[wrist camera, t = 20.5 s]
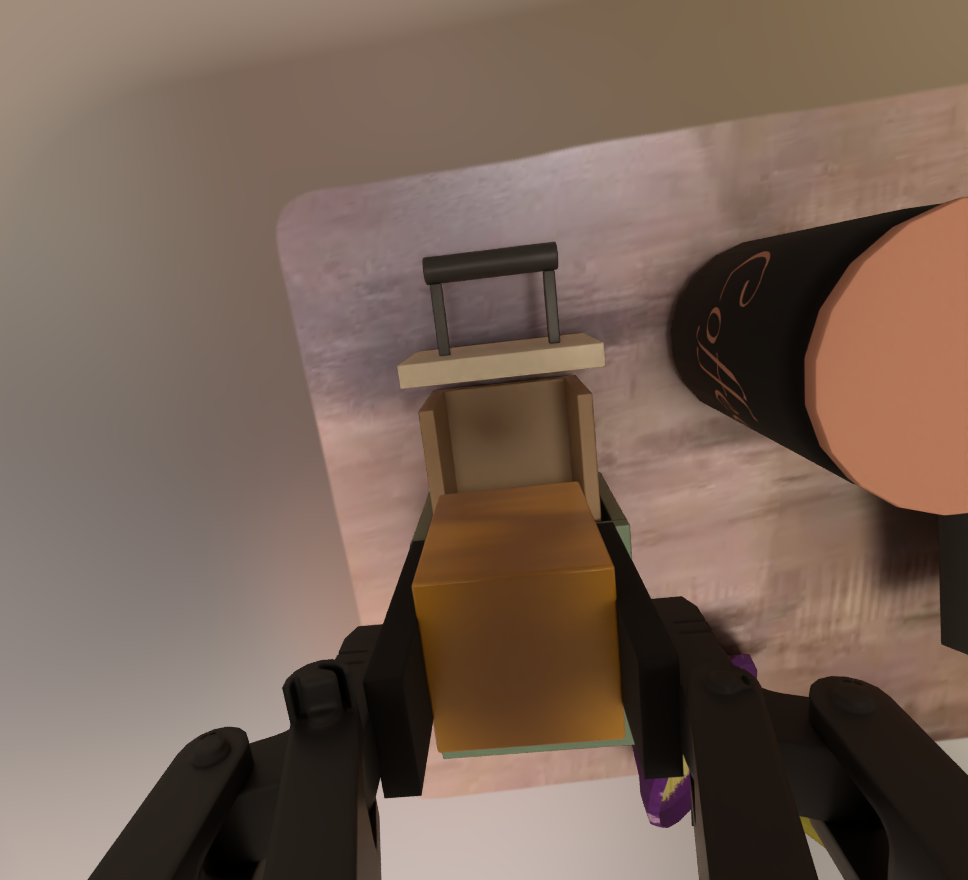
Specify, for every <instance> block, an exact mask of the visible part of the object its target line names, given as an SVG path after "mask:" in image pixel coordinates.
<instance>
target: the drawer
mask: <svg viewBox="0 0 968 880" xmlns="http://www.w3.org/2000/svg"><path fill="white" fill-rule="evenodd" d="M422 265H423V273H424V279H425V282H426V284H427V285H430V291H431V299H432V306H433V314H434V321H435V329H436V336H437V344H438V349H437V350H428V351H419V352H416V353H415V354H414V355H412V356H411V357H409V358H408V359H407V360H405V361H404V362H402V363H401V364H399V365H398V366H397V369H398V375H399V382H400V388H401V389H406V388H415V387H424V386H433V385H442V384H451V383H460V382H469V381H478V380H487V379H496V378H505V377H514V376H524V375H533V374H542V373H551V372H560V371H569V370H578V369H587V368H596V367H604V366H605V355H604V343H603V342H601V341H599V340H597V339H595V338H592V337H590V336H588V335H586V334H584V333H577V334H569V335H560V332H559V319H558V307H557V295H556V283H555V271H554V270H556V269H558V251H557V245H556V242H548V243H540V244H531V245H523V246H515V247H507V248H499V249H491V250H483V251H474V252H466V253H458V254H450V255H442V256H434V257H425V258H423V261H422ZM540 271H543V285H544V296H545V308H546V319H547V330H548V337H542V338H534V339H525V340H516V341H507V342H498V343H490V344H481V345H472V346H463V347H454V348H450V344H449V336H448V328H447V320H446V313H445V305H444V297H443V289H442V284H441V283H448V282H457V281H465V280H473V279H482V278H490V277H498V276H507V275H515V274H523V273H532V272H540ZM418 413H419V420H420V427H421V434H422V441H423V448H424V455H425V462H426V469H427V476H428V482H429V489H430V496H431V503H432V510H433V514H434V511H435V507H436V504H437V501H438V498H439V496H440V495H446V494H456V493H466V492H476V491H486V490H496V489H506V488H516V487H526V486H536V485H546V484H556V483H566V482H576V481H577V482H579V484H580V486H581V489H582V491H583V494H584V496H585V498H586V501H587V503H588V506H589V508H590V510H591V513H592V515H593V517H594V520H595V522H601V509H600V495H599V481H598V466H597V452H596V438H595V424H594V410H593V396H592V393H591V392H590V391H589V390H588V389H587V387H586V386H585V385H584V384H583V383H582V382H581V381H580V380H579V379H578V378H577V376H576V375H572V376H563V377H553V378H544V379H535V380H526V381H517V382H508V383H499V384H490V385H481V386H471V387H462V388H453V389H444V390H435V391H433V392H432V393H431V395H430V396H429V398H428V399H427V400H426V402H425V403H424V405H423V406H422V408H421V409H420V411H419V412H418Z"/></svg>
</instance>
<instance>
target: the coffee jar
mask: <svg viewBox="0 0 968 880" xmlns="http://www.w3.org/2000/svg"><path fill="white" fill-rule="evenodd" d="M671 336H672V352H673V359H674V361H675V364H676V366H677V368H678V371H679V373H680V376H681V378H682V381H683V382H684V383H685V384H686V386H687V387H688V388H689V389H690V390H691V391H692V392H693V393H694V394H695V396H696V397H697V398H698V399H699V400H700V401H702V402H703V403H705V404H707V405H709V406H711V407H712V408H714V409H716V410H718V411H720V412H722V413H723V414H725V415H727V416H729V417H731V418H733V419H734V420H736V421H738V422H740V423H742V424H744V425H746V426H747V427H749V428H751V429H753V430H755V431H757V432H758V433H760V434H762V435H764V436H766V437H768V438H770V439H771V440H773V441H775V442H777V443H779V444H781V445H782V446H784V447H786V448H788V449H790V450H792V451H794V452H795V453H797V454H799V455H801V456H803V457H805V458H806V459H808V460H810V461H812V462H814V463H816V464H818V465H819V466H821V467H823V468H825V469H827V470H829V471H830V472H832V473H834V474H836V475H838V476H840V477H842V478H843V479H845V480H847V481H849V482H851V483H853V484H856V485H858V486H860V487H861V488H863V489H865V490H867V491H869V492H871V493H872V494H874V495H876V496H878V497H880V498H881V499H883V500H885V501H887V502H889V503H891V504H892V505H894V506H896V507H900V508H905V509H911V510H917V511H922V512H928V513H934V514H939V515H953V514H962V513H968V197H962V198H958V199H955V200H952V201H948V202H945V203H942V204H935V205H928V206H921V207H915V208H908V209H901V210H897V211H892V212H887V213H882V214H878V215H873V216H868V217H863V218H858V219H854V220H849V221H844V222H839V223H835V224H830V225H825V226H820V227H815V228H811V229H806V230H801V231H796V232H791V233H787V234H782V235H777V236H772V237H768V238H763V239H758V240H753V241H748V242H744V243H741V244H739V245H737V246H735V247H733V248H731V249H729V250H727V251H725V252H723V253H721V254H719V255H716V256H715V257H714V258H713V259H712V260H711V261H710V262H709V263H707V264H706V265H705V266H704V267H703V268H702V269H701V270H700V271H699V272H698V273H697V274H695V275H694V276H693V278H692V280H691V281H690V283H689V285H688V286H687V288H686V290H685V291H684V293H683V295H682V296H681V298H680V300H679V301H678V304H677V308H676V312H675V316H674V320H673V324H672V328H671Z"/></svg>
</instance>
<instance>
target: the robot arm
mask: <svg viewBox="0 0 968 880" xmlns="http://www.w3.org/2000/svg"><path fill="white" fill-rule="evenodd" d="M596 525H597V527H598V529H599V532H600V534H601V537H602V539H603V541H604V544H605V546H606V548H607V551H608V553H609V556H610V558H611V560H612V563H613V565H614V568H615V582H616V597H617V598H616V610H617V625H618V640H619V655H620V670H621V685H622V700H623V707H624V710H625V714H626V717H627V720H628V724H629V727H630V730H631V734H632V737H633V740H634V744H635V747H636V750H637V754H638V757H639V761H640V764H641V767H642V771H643V774H644V777H645V779H658V778H672V777H684V768H683V756H684V758H685V761H686V763H687V766H688V768H689V771H690V790H691V816H692V817H691V818H692V826H694V833H695V843H696V852H697V863H698V872H699V880H818V876H817V873H816V870H815V866H814V863H813V859H812V856H811V853H810V849H809V846H808V843H807V839H806V836H805V832H804V829H803V826H802V822H801V819H800V816H801V817H806V818H809V820H810V823H811V825H812V826H813V828H814V830H815V831H816V833H817V835H818V836H819V838H820V840H821V841H822V843H823V845H824V846H825V848H826V850H827V851H828V853H829V855H830V856H831V858H832V860H833V861H834V863H835V864H836V866H837V868H838V870H839V871H840V873H841V874H842V876H843V878H844V879H845V880H968V775H967V774H966V773H965V772H964V771H963V770H962V769H961V768H960V767H959V766H958V765H957V764H956V763H955V762H954V761H953V760H952V759H951V758H950V757H949V756H948V755H947V754H946V753H945V752H944V751H943V750H942V749H941V748H940V747H939V746H938V745H937V744H936V743H935V742H934V741H933V740H932V739H931V738H930V737H929V736H928V735H927V733H926V732H925V731H924V730H923V729H922V728H921V727H920V726H919V725H918V724H917V723H916V722H915V721H914V720H913V719H912V718H911V717H910V716H909V715H908V714H907V713H906V712H905V711H904V710H903V709H902V708H901V707H900V706H899V705H898V704H897V703H896V702H895V701H894V700H893V699H892V698H891V697H890V696H888V695H887V694H886V693H884V692H883V691H882V690H881V689H879V688H878V687H876V686H873V685H871V684H869V683H867V682H864V681H862V680H858V679H853V678H849V677H838V676H830V677H826V678H821V679H818V680H817V681H816V682H814V683H813V684H812V685H811V687H810V692H809V697H804V696H797V695H790V694H783V693H778V692H773V691H769V690H767V689H764V688H761V685H760V684H759V682H758V680H757V679H756V677H755V676H753V675H752V674H751V673H749V672H748V671H747V670H745V669H743V668H740V667H738V666H735V665H734V664H733V663H732V661H731V660H730V658H729V657H728V655H727V653H726V652H725V650H724V649H723V647H722V645H721V644H720V642H719V641H718V639H717V637H716V636H715V634H714V633H713V632H712V631H711V628H710V626H709V625H708V623H707V622H705V618H704V617H703V615H702V614H701V612H700V610H699V609H698V607H697V606H695V605H694V604H692V603H691V602H689V601H688V600H686V599H685V598H683V597H682V596H679V597H668V598H657V599H651V598H650V596H649V594H648V592H647V590H646V588H645V586H644V583H643V581H642V579H641V577H640V575H639V573H638V571H637V569H636V567H635V565H634V563H633V561H632V559H631V557H630V555H629V553H628V551H627V549H626V547H625V545H624V543H623V541H622V539H621V537H620V535H619V533H618V531H617V529H616V527H615V525H614V523H613V522H606V523H596ZM424 544H425V540H419V541H412V544H411V547H410V549H409V552H408V555H407V558H406V561H405V564H404V566H403V569H402V572H401V575H400V578H399V580H398V583H397V586H396V589H395V592H394V595H393V597H392V600H391V603H390V606H389V609H388V611H387V614H386V617H385V620H384V623H383V624H381V625H369V626H359V627H357V628H356V629H355V630H354V631H353V632H351V633H350V634H349V635H348V636H347V637H346V638H345V639H344V641H343V644H342V646H341V648H340V650H339V655H337V657H336V659H335V660H333V659H330V660H320V661H317V662H313V663H310V664H307V665H306V666H303V667H302V668H300V669H298V670H296V671H295V672H294V673H293V674H292V675H291V676H290V677H288V678H287V679H286V681H285V684H284V685H283V687H282V689H283V693H284V698H285V702H286V706H287V711H288V715H289V720H290V729H289V730H287V731H285V732H283V733H280V734H278V735H275V736H272V737H269V738H266V739H262V740H259V741H256V742H253V743H250V744H249V740H248V737H247V734H246V732H245V731H243V730H242V729H240V728H236V727H224V728H218V729H214V730H212V731H209V732H206V733H204V734H202V735H200V736H199V737H197V738H196V739H194V740H193V741H191V742H190V743H188V744H187V745H186V746H185V747H184V748H183V749H182V750H181V751H180V752H179V753H178V754H177V756H176V757H175V758H174V760H173V761H172V763H171V764H170V765H169V767H168V768H167V770H166V771H165V773H164V774H163V775H162V777H161V778H160V779H159V781H158V782H157V784H156V785H155V786H154V788H153V789H152V791H151V792H150V793H149V795H148V796H147V798H146V799H145V800H144V802H143V803H142V805H141V806H140V807H139V809H138V810H137V811H136V813H135V814H134V816H133V817H132V819H131V820H130V821H129V823H128V824H127V825H126V827H125V828H124V830H123V831H122V832H121V834H120V835H119V837H118V838H117V839H116V841H115V842H114V844H113V845H112V846H111V848H110V849H109V851H108V852H107V853H106V855H105V856H104V857H103V859H102V860H101V862H100V863H99V865H98V866H97V867H96V869H95V870H94V872H93V873H92V874H91V876H90V877H89V878H88V880H381V853H380V822H379V812H378V806H377V801H376V793H377V789H378V785H379V781H380V777H381V782H382V788H383V793H384V798H396V797H409V796H421V795H422V789H423V782H424V776H425V770H426V763H427V757H428V750H429V744H430V738H431V731H432V725H433V714H432V708H431V702H430V696H429V689H428V683H427V677H426V670H425V664H424V658H423V651H422V645H421V639H420V632H419V626H418V620H417V616H416V611H415V605H414V598H413V592H412V583H413V580H414V577H415V573H416V570H417V567H418V563H419V560H420V557H421V553H422V550H423V547H424Z"/></svg>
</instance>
